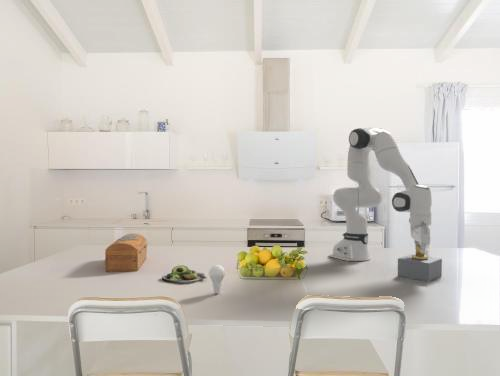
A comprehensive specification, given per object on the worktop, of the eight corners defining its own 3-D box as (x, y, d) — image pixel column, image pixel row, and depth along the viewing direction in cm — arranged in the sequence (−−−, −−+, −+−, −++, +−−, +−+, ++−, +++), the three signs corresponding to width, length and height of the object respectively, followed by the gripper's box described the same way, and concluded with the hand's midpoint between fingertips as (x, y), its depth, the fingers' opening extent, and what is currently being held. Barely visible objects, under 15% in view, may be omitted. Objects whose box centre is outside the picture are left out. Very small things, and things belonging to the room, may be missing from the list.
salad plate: (217, 277, 177) (217, 267, 177) (192, 287, 161) (192, 276, 161) (183, 272, 186) (183, 262, 186) (156, 281, 171) (156, 270, 171)
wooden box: (117, 259, 215) (116, 233, 215) (148, 258, 217) (148, 233, 216) (101, 272, 185) (101, 242, 185) (137, 271, 187) (137, 242, 186)
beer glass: (431, 269, 193) (432, 238, 192) (416, 268, 194) (417, 238, 193) (428, 266, 199) (429, 236, 199) (413, 265, 201) (414, 236, 200)
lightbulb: (209, 291, 154) (209, 263, 154) (224, 291, 155) (224, 263, 155) (208, 296, 148) (208, 267, 148) (225, 295, 149) (225, 266, 149)
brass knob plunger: (408, 274, 180) (409, 245, 179) (415, 272, 185) (415, 243, 184) (424, 277, 175) (424, 247, 175) (430, 275, 180) (430, 245, 179)
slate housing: (397, 275, 180) (397, 258, 180) (411, 270, 190) (411, 254, 189) (429, 281, 170) (429, 263, 170) (441, 276, 180) (441, 258, 179)
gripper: (434, 223, 168) (433, 256, 169) (422, 218, 188) (421, 247, 189) (418, 223, 169) (418, 255, 170) (408, 218, 190) (407, 247, 190)
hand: (419, 251), depth 179 cm, fingers open, 8 cm apart
